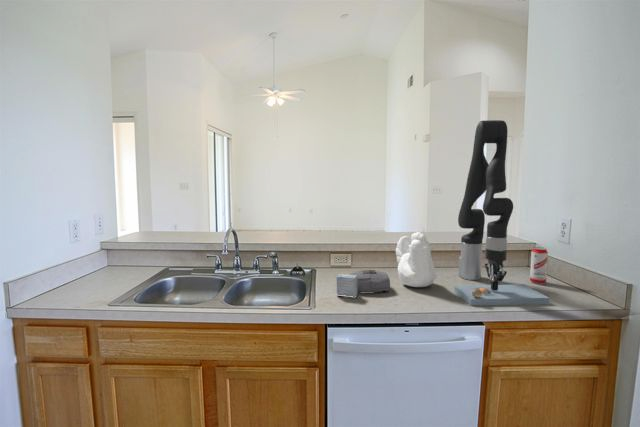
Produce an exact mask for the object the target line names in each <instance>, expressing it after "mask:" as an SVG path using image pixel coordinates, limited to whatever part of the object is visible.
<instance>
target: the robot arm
mask: <svg viewBox="0 0 640 427" xmlns="http://www.w3.org/2000/svg"><path fill="white" fill-rule="evenodd" d="M486 144H495V146H496V148H495V153H494V156H493V157H492V159H491V161H489V162H488V161H487V158H486V156H485V152H484V151H485V150H484V148H485V145H486ZM507 147H508V125H507V122H506V121H505V120H502V119H501V120H498V119H497V120H496V119H494V120H493V119H491V120H486V119H485V120H480V121H479V122H478V123H477V125H476V128H475V134H474V140H473V151H472V155H471V161H470V166H469V170H468V174H467V179H466V183H465V184H466V185H465V190H464V194H463V199H462V202H461V206H460V209H459V212H458V218H457V223H458V226H459V228H461V229H465V230H466V229H468V230H469V229H472V231H470V232H468V233H466V234H464V235H462V236H461V242H460V244H461V245H460V256H459V258H458V276H459V277H460V278H461V279H464V280H469V281H479V280H481V279H482V262H483V260H482V259H483V239H484V233H485V232H484V231H485V224H486V223H485V221H486V219H485V215H486V216H490V217H491V216H494V217H495V216H496V217H497V216H498V217H499V216H500V217H499V218H498V219H496V220H493V221H489V222H488V223H487V225H486V238H485V254H484V258H485V259H486V260H487V263H484V266H485V267H484V268H485V270H486V271H485V272H486V274H487V277H488V278H489V280H490V285H491V289H492V290H498V285H499V282H502V281H503V280H504V278H505V277H506V275H507V270H504V264H503V262H505V261H507V257H508V251H507V250H508V238H507V237H508V236H507V235H508V234H507V233H508V225H509V221H510V219H511V216H512V213H513V211H514V203H513V201H512V200H511V199H510V198H509V197H495V195H496V194H499V193H503V192H505V191H507V176H506V159H507V158H506V156H507ZM483 194H485V196H484V201H483V204H482V209H481V208H473V206H474V204H475V203H476V202H477V201H478V199H479V198H480V197H482V195H483Z"/></svg>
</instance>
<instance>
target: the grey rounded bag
mask: <svg viewBox="0 0 640 427" xmlns="http://www.w3.org/2000/svg"><path fill="white" fill-rule="evenodd" d="M348 275H357V293H358V292H381V293H383V292H382V291H386V292H389V291H390V289H391V279H390V277H389V275H388V273H387V272H384V271H379V270H375V269H374V270H373V269H370V270H369V269H366V270H357V271H353V272H351V273H349V274H348Z"/></svg>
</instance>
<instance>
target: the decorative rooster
mask: <svg viewBox="0 0 640 427" xmlns="http://www.w3.org/2000/svg"><path fill="white" fill-rule="evenodd" d="M395 255H396V262H397V263H398V265H397V272H398V277H399V280H400V282H401V284H403V285H406V286H408V287H413V288H425V287H426V288H427V287H428V286H431V285H432V284H433V283H434V282H435V280H436V279H437V278H438V274H437V270H436V269H435V265H434V261H433V259H432V248H431V244H430V241H429V240H428V239H427V237H426V236H425V235H424V234H423V233H422V232H420V231H417V232H413V233H412V234H411V236H410V237H409V236H408V235H404V236H401V237H400V238H399V240H398V241H397V243H396V248H395Z"/></svg>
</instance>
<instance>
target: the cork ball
mask: <svg viewBox="0 0 640 427" xmlns="http://www.w3.org/2000/svg"><path fill="white" fill-rule="evenodd" d="M472 295H473V296H474V297H475V298H479V297H481V295H482V292H481V290H480V289H473V290H472Z"/></svg>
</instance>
